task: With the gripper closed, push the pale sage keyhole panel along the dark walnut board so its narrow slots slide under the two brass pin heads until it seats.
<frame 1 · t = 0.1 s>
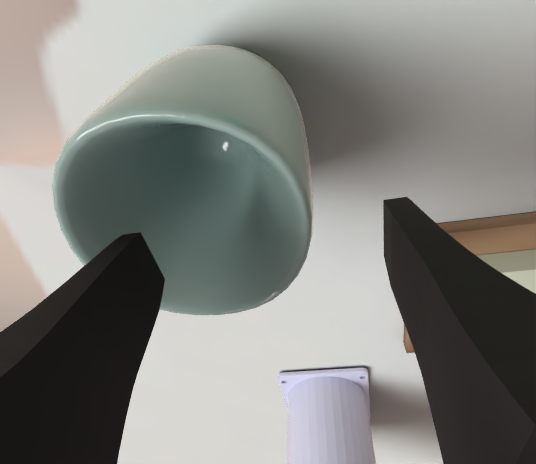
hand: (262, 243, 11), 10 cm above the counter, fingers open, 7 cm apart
cup: (228, 109, 19), on the counter
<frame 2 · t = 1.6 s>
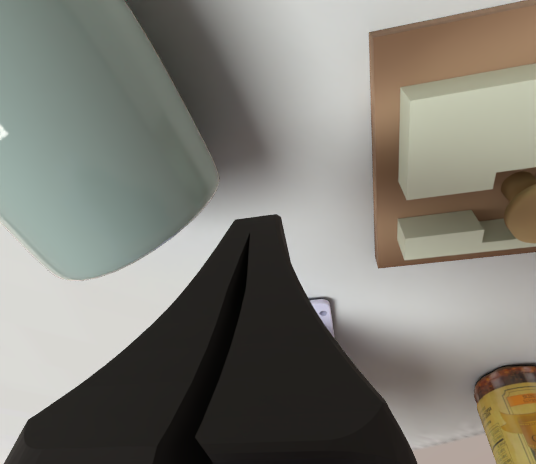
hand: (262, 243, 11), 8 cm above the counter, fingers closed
sauce bottle: (507, 379, 29), on the counter
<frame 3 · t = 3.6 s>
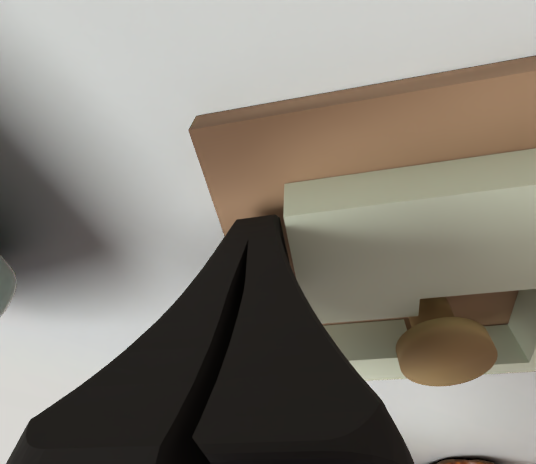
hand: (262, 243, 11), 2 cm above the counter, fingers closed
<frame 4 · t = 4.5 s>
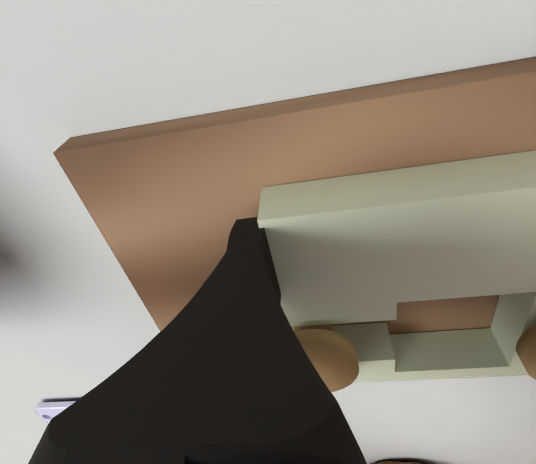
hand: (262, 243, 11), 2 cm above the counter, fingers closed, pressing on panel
board: (451, 246, 13), on the counter
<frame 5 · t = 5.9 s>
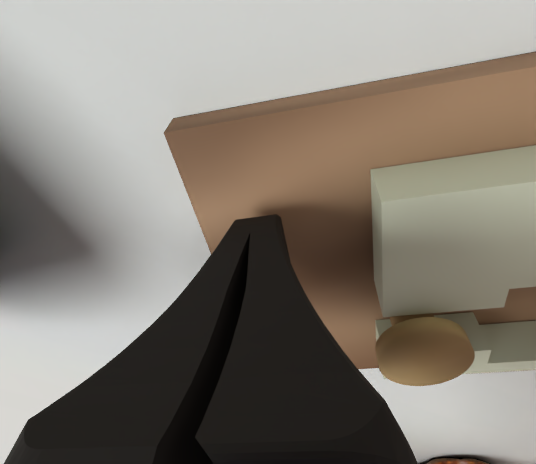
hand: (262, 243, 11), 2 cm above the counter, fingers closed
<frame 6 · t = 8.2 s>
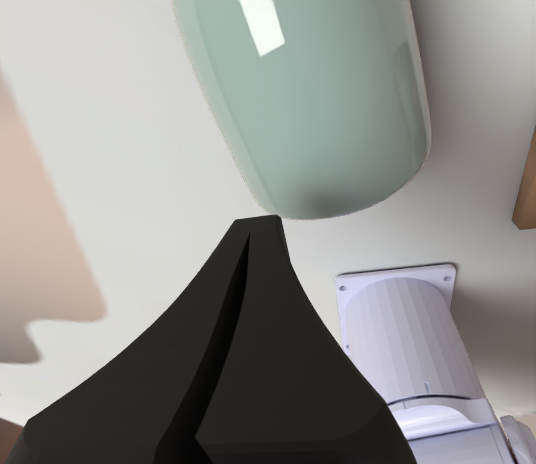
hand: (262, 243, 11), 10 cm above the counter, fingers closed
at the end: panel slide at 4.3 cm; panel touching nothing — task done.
